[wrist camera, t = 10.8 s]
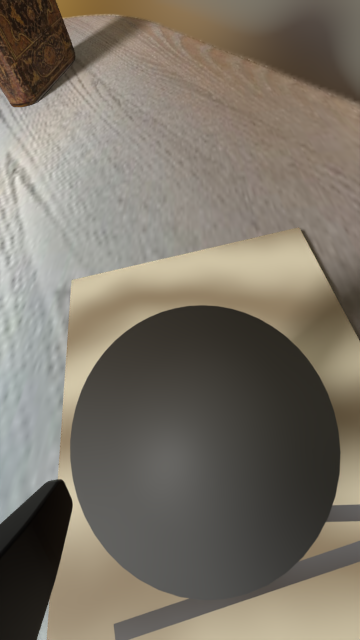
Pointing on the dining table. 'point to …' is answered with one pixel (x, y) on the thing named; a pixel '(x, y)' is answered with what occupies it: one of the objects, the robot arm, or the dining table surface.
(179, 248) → the dining table surface
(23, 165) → the dining table surface
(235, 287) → the birch board
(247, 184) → the dining table surface
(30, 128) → the dining table surface
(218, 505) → the grey post on base
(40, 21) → the book
